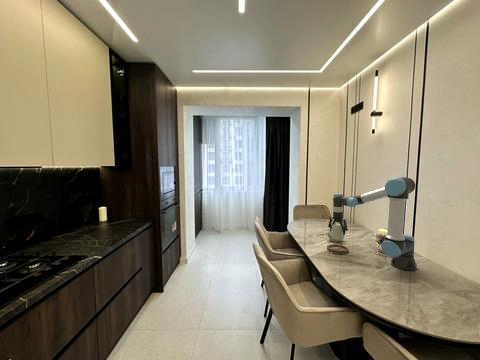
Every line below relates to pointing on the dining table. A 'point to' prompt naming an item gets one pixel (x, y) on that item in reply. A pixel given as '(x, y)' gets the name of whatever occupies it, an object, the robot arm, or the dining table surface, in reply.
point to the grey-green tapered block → (337, 232)
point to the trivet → (337, 249)
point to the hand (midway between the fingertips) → (337, 237)
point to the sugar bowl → (331, 237)
